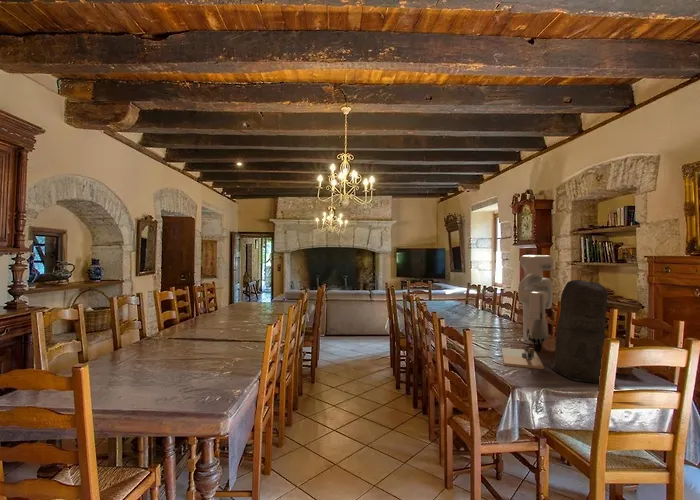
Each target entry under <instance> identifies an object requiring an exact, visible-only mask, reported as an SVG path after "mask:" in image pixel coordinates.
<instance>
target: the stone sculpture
mask: <svg viewBox="0 0 700 500" xmlns="http://www.w3.org/2000/svg"><path fill="white" fill-rule="evenodd" d="M608 298H609V293H608V291H607V289H606V287H605V286H604V285H602V284H601V283H599V282H593V281H586V280H584V279H583V280H582V279H574V280H573V279H572V280H570V281H568V282H566V284H565V286H564V287H563V289H562V292H561V297H560V308H559V309H560V310H559V314H558V315H559V317H558V320H557V328H556V336H555V344H554V345H555V351H554V352H555V353H554V354H555V355H554V356H555V358H554V365H549V367H550V368H551V369H552V370H554V371H555V372H557V373H558V374H560V375H561V376H564V377H566V378H568V379H570V380H573V381H577V382H584V383H585V382H586V383H592V384H595V383H597V384H599V383H600V382H599V376H600V369H601V358H602V347H603V340H604V339H605V340H606V335H605V332H606V319H607V310H608Z"/></svg>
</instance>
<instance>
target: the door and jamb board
mask: <svg viewBox="0 0 700 500" xmlns="http://www.w3.org/2000/svg"><path fill="white" fill-rule="evenodd" d="M525 351H529V352H531V356H532V360H528V359H527V357H526V354H525ZM537 353H538V352H536V351H534V347H533V348H531V347H530V344H524V349H521V348H520V349H519V348H508V347H501V354H502V355H501V356H502V359H503V365H504V366H506V367H507V366H508V367H517V368H526V369H527V368H529V369H537V370H538V369H539V370H544V369H545V367H544V365H543V363H542V361H541V359H540V357H539V355H538V354H537Z"/></svg>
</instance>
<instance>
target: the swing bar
mask: <svg viewBox="0 0 700 500" xmlns="http://www.w3.org/2000/svg"><path fill="white" fill-rule="evenodd" d="M525 354H526V357H527V359H528V360H532V356H531V352H529V351H525Z"/></svg>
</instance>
